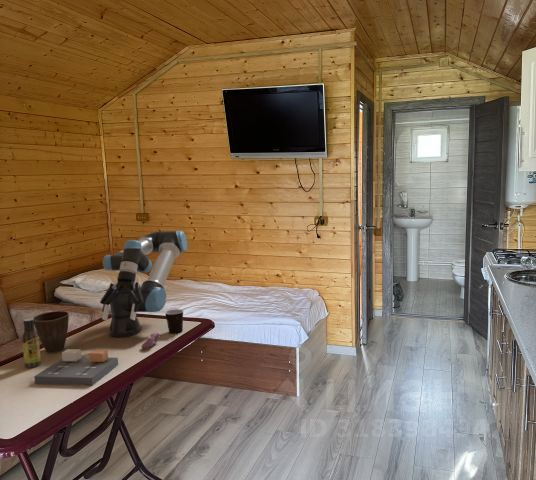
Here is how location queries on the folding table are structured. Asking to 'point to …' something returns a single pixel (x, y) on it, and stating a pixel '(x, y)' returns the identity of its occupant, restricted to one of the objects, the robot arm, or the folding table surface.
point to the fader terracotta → (98, 355)
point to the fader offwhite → (71, 355)
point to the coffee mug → (175, 321)
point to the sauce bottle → (30, 344)
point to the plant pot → (52, 330)
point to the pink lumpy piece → (151, 340)
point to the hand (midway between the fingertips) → (118, 319)
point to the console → (76, 372)
